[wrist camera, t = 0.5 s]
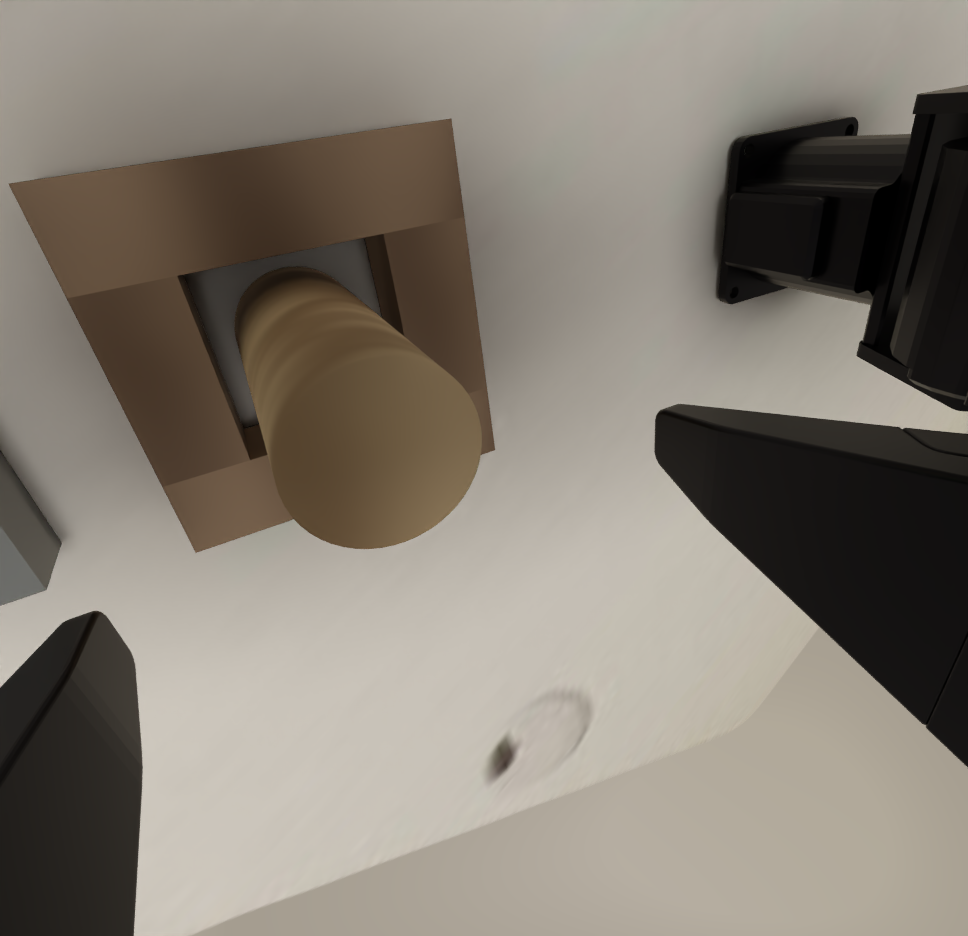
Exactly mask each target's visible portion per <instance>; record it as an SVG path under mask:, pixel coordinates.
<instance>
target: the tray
mask: <svg viewBox="0 0 968 936" xmlns="http://www.w3.org/2000/svg"><path fill="white" fill-rule="evenodd" d="M61 544H62V543H61V542H60V540H59V539H58V537H57V536H56V534H55V533H54V531H53V530H52V528H51V527H50V525H49V524H48V522H47V521H46V519H45V518H44V516H43V515H42V513H41V512H40V510H39V509H38V507H37V506H36V504H35V502H34V501H33V499H32V498H31V496H30V495H29V493H28V492H27V490H26V489H25V487H24V486H23V484H22V483H21V481H20V480H19V478H18V477H17V475H16V474H15V472H14V471H13V469H12V468H11V466H10V465H9V463H8V462H7V460H6V459H5V457H4V456H3V454H2V453H1V451H0V606H1V605H4V604H7V603H10V602H13V601H16V600H18V599H21V598H24V597H27V596H30V595H33V594H36V593H39V592H42V591H45V590H47V587H48V584H49V581H50V578H51V574H52V571H53V568H54V565H55V562H56V559H57V556H58V553H59V550H60V547H61Z"/></svg>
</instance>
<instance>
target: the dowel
mask: <svg viewBox="0 0 968 936" xmlns="http://www.w3.org/2000/svg"><path fill="white" fill-rule="evenodd" d="M235 336H236V340H237V344H238V348H239V351H240V355H241V359H242V362H243V366H244V370H245V373H246V377H247V381H248V384H249V388H250V392H251V396H252V399H253V403H254V407H255V410H256V414H257V418H258V421H259V425H260V429H261V432H262V436H263V440H264V443H265V447H266V451H267V454H268V458H269V462H270V465H271V469H272V473H273V476H274V480H275V484H276V487H277V490H278V494H279V496H280V498H281V500H282V502H283V504H284V506H285V508H286V509H287V511H288V512H289V514H290V515H291V516H292V517H293V518H294V520H295V521H296V522H297V523H298V524H299V525H300V526H301V527H303V528H304V529H305V530H307V531H308V532H309V533H311V534H312V535H314V536H316V537H318V538H319V539H321V540H324V541H326V542H329V543H331V544H335V545H338V546H342V547H348V548H355V549H373V548H383V547H387V546H392V545H396V544H399V543H402V542H405V541H408V540H410V539H413V538H415V537H417V536H419V535H421V534H423V533H424V532H426V531H428V530H429V529H431V528H432V527H434V526H435V525H437V524H438V523H439V522H440V521H442V520H443V519H444V518H445V517H446V516H447V515H448V514H449V513H450V512H451V511H452V510H453V509H454V508H455V507H456V506H457V505H458V503H459V502H460V501H461V499H462V498H463V497H464V495H465V494H466V492H467V490H468V489H469V487H470V485H471V483H472V481H473V479H474V476H475V474H476V471H477V468H478V465H479V461H480V455H481V448H482V433H481V425H480V420H479V416H478V413H477V410H476V408H475V405H474V403H473V401H472V400H471V398H470V396H469V394H468V393H467V392H466V390H465V389H464V388H463V386H462V385H461V384H460V383H459V382H458V381H457V380H456V379H455V378H454V377H453V376H451V375H450V374H449V373H448V372H447V371H445V370H444V369H443V368H442V367H440V366H439V365H438V364H437V363H436V362H434V361H433V360H432V359H431V358H430V357H428V356H427V355H426V354H425V353H424V352H422V351H421V350H420V349H419V348H417V347H416V346H415V345H414V344H413V343H411V342H410V341H409V340H408V339H407V338H405V337H404V336H403V335H402V334H401V333H399V332H398V331H397V330H396V329H394V328H393V327H392V326H391V325H390V324H388V323H387V322H386V321H385V320H384V319H382V318H381V317H380V316H379V315H378V314H376V313H375V312H374V311H373V310H371V309H370V308H369V307H368V306H367V305H365V304H364V303H363V302H362V301H361V300H359V299H358V298H357V297H356V296H355V295H353V294H352V293H351V292H350V291H348V290H347V289H346V288H345V287H344V286H342V285H341V284H340V283H339V282H337V281H336V280H335V279H333V278H332V277H330V276H329V275H327V274H325V273H323V272H320V271H318V270H315V269H311V268H307V267H284V268H280V269H276V270H273V271H271V272H268V273H266V274H264V275H263V276H261V277H260V278H258V279H257V280H256V281H254V282H253V283H252V284H251V285H250V286H249V287H248V289H247V290H246V291H245V293H244V294H243V296H242V297H241V299H240V302H239V304H238V307H237V310H236V314H235Z"/></svg>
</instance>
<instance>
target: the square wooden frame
mask: <svg viewBox="0 0 968 936" xmlns="http://www.w3.org/2000/svg"><path fill="white" fill-rule="evenodd" d="M9 186H10V188H11V190H12V192H13V194H14V196H15V198H16V200H17V201H18V203H19V205H20V207H21V209H22V211H23V213H24V215H25V217H26V219H27V221H28V223H29V225H30V227H31V229H32V231H33V233H34V235H35V237H36V239H37V241H38V243H39V245H40V247H41V249H42V251H43V253H44V255H45V257H46V259H47V261H48V263H49V265H50V266H51V268H52V270H53V272H54V274H55V276H56V278H57V280H58V282H59V284H60V286H61V288H62V290H63V292H64V294H65V296H66V298H67V300H68V302H69V304H70V306H71V308H72V310H73V312H74V314H75V316H76V318H77V320H78V322H79V324H80V326H81V328H82V329H83V331H84V333H85V335H86V337H87V339H88V341H89V343H90V345H91V347H92V349H93V351H94V353H95V355H96V357H97V359H98V361H99V363H100V365H101V367H102V369H103V371H104V373H105V375H106V377H107V379H108V381H109V383H110V385H111V387H112V389H113V391H114V392H115V394H116V396H117V398H118V400H119V402H120V404H121V406H122V408H123V410H124V412H125V414H126V416H127V418H128V420H129V422H130V424H131V426H132V428H133V430H134V432H135V434H136V436H137V438H138V440H139V442H140V444H141V446H142V448H143V450H144V452H145V454H146V455H147V457H148V459H149V461H150V463H151V465H152V467H153V469H154V471H155V473H156V475H157V477H158V479H159V481H160V483H161V485H162V487H163V489H164V491H165V493H166V495H167V497H168V499H169V501H170V503H171V505H172V507H173V509H174V511H175V513H176V515H177V517H178V518H179V520H180V522H181V524H182V526H183V528H184V530H185V532H186V534H187V536H188V538H189V540H190V542H191V544H192V546H193V548H194V550H195V552H199V551H202V550H205V549H208V548H211V547H214V546H217V545H220V544H223V543H226V542H228V541H231V540H234V539H237V538H240V537H243V536H246V535H249V534H252V533H255V532H258V531H261V530H263V529H266V528H269V527H272V526H275V525H278V524H281V523H284V522H287V521H290V520H293V519H294V518H293V517H292V516H291V515H290V514H289V512H288V511H287V509H286V508H285V506H284V504H283V502H282V500H281V498H280V496H279V494H278V490H277V487H276V484H275V480H274V476H273V473H272V469H271V465H270V462H269V458H268V454H267V451H266V447H265V443H264V440H263V436H262V432H261V429H260V425H256V426H252V427H249V428H245V429H244V428H243V426H242V423H241V421H240V418H239V416H238V413H237V410H236V408H235V405H234V403H233V400H232V398H231V395H230V393H229V390H228V388H227V385H226V382H225V380H224V377H223V375H222V372H221V370H220V367H219V365H218V362H217V359H216V357H215V354H214V352H213V349H212V347H211V344H210V342H209V339H208V336H207V334H206V331H205V329H204V326H203V324H202V321H201V319H200V316H199V314H198V311H197V308H196V306H195V303H194V301H193V298H192V296H191V293H190V291H189V288H188V285H187V283H186V280H185V278H184V274H189V273H194V272H199V271H204V270H208V269H213V268H218V267H223V266H228V265H233V264H238V263H243V262H248V261H252V260H257V259H262V258H267V257H272V256H277V255H282V254H287V253H292V252H297V251H301V250H306V249H311V248H316V247H321V246H326V245H331V244H336V243H341V242H345V241H350V240H355V239H360V238H365V242H366V246H367V251H368V255H369V260H370V264H371V269H372V273H373V278H374V282H375V287H376V291H377V296H378V300H379V305H380V309H381V314H382V319H384V320H385V321H386V322H387V323H388V324H390V325H391V326H392V327H393V328H394V329H396V330H397V331H398V332H399V333H401V334H402V335H403V336H404V337H405V338H407V339H408V340H409V341H410V342H411V343H413V344H414V345H415V346H416V347H417V348H419V349H420V350H421V351H422V352H424V353H425V354H426V355H427V356H428V357H430V358H431V359H432V360H433V361H434V362H436V363H437V364H438V365H439V366H440V367H442V368H443V369H444V370H445V371H447V372H448V373H449V374H450V375H451V376H453V377H454V378H455V379H456V380H457V381H458V382H459V383H460V384H461V385H462V386H463V388H464V389H465V390H466V392H467V393H468V394H469V396H470V398H471V400H472V401H473V403H474V405H475V408H476V410H477V413H478V416H479V420H480V425H481V433H482V448H481V455H482V454H485V453H488V452H490V451H493V450H495V446H494V439H493V431H492V423H491V416H490V408H489V401H488V393H487V386H486V378H485V370H484V363H483V355H482V348H481V340H480V333H479V325H478V317H477V310H476V302H475V295H474V287H473V280H472V272H471V265H470V257H469V249H468V242H467V234H466V227H465V219H464V212H463V204H462V196H461V189H460V181H459V174H458V166H457V159H456V151H455V143H454V136H453V128H452V121H451V119H446V120H439V121H432V122H425V123H418V124H411V125H405V126H398V127H391V128H384V129H377V130H371V131H364V132H357V133H350V134H343V135H337V136H330V137H323V138H316V139H309V140H303V141H296V142H289V143H282V144H275V145H268V146H262V147H255V148H248V149H241V150H234V151H228V152H221V153H214V154H207V155H200V156H194V157H187V158H180V159H173V160H166V161H160V162H153V163H146V164H139V165H132V166H126V167H119V168H112V169H105V170H98V171H92V172H85V173H78V174H71V175H64V176H58V177H51V178H44V179H37V180H30V181H24V182H17V183H10V184H9Z"/></svg>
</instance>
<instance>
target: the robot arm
mask: <svg viewBox="0 0 968 936" xmlns="http://www.w3.org/2000/svg"><path fill="white" fill-rule="evenodd" d="M913 114H916V115H915V119H914V124H913V128H912V132H911V134H898V135H867V136H857V132H858V121H857V119H856V118H855V117H845V118H839V119H833V120H828V121H823V122H817V123H812V124H807V125H801V126H796V127H791V128H785V129H780V130H775V131H769V132H764V133H759V134H754V135H748V136H743V137H741V138H739V139H738V140H737V141H736V142H735V144H734V146H733V149H732V153H731V164H730V175H729V186H728V197H727V208H726V219H725V229H724V240H723V251H722V262H721V273H720V284H719V299H720V301H722V302H724V303H728V304H735V303H738V302H741V301H744V300H748V299H751V298H754V297H758V296H761V295H764V294H768V293H771V292H774V291H778V290H781V289H784V288H788V287H790V288H794V289H799V290H804V291H808V292H813V293H817V294H822V295H827V296H831V297H836V298H841V299H845V300H850V301H854V302H859V303H864V304H868V305H871V307H870V312H869V316H868V320H867V324H866V329H865V333H864V337H863V340H862V341H860V343H859V347H858V351H857V356H858V357H859V358H861V359H863V360H865V361H867V362H868V363H870V364H872V365H874V366H876V367H877V368H879V369H881V370H882V371H884V372H886V373H888V374H890V375H892V376H893V377H895V378H897V379H899V380H901V381H903V382H904V383H906V384H908V385H910V386H912V387H914V388H915V389H917V390H919V391H921V392H923V393H924V394H926V395H928V396H930V397H932V398H933V399H936V400H938V401H939V402H941V403H943V404H945V405H947V406H949V407H950V408H952V409H955V410H958V411H968V85H966V86H960V87H955V88H949V89H944V90H938V91H933V92H927V93H921V94H917V97H916V101H915V105H914V110H913ZM745 148H746V153H745V155H744V151H745ZM731 290H732V291H731ZM730 291H731V293H730ZM655 456H656V459H657V461H658V463H659V464H660V466H661V467H662V468H663V469H664V470H665V472H666V473H667V474H668V475H669V476H670V477H671V479H672V480H673V481H674V482H675V483H676V484H677V486H678V487H679V488H680V489H681V490H682V491H683V493H684V494H685V495H686V496H687V497H688V498H689V499H690V501H691V502H692V503H693V504H694V505H695V506H696V508H697V509H698V510H699V511H700V512H701V513H702V515H703V516H704V517H705V518H706V519H707V520H708V521H709V522H710V523H711V524H712V525H713V526H714V527H715V528H716V529H717V530H718V531H719V532H720V533H721V534H722V535H723V536H724V537H725V538H726V539H727V540H728V541H729V542H730V543H732V544H733V545H734V546H735V547H736V548H737V549H738V550H739V551H740V552H741V553H742V554H743V555H744V556H745V557H746V558H747V559H748V560H750V561H751V562H752V563H753V564H754V565H755V566H756V567H757V568H758V569H759V570H760V571H761V572H762V573H763V574H764V575H765V576H766V577H767V578H769V579H770V580H771V581H772V582H773V583H774V584H775V585H776V586H777V587H778V588H779V589H780V590H781V591H782V592H783V593H784V594H785V595H787V596H788V597H789V598H790V599H791V600H792V601H793V602H794V603H795V604H796V605H797V606H798V607H799V608H800V609H801V610H802V611H803V612H805V613H806V614H807V615H808V616H809V617H810V618H811V619H812V620H813V621H814V622H815V623H816V624H817V625H818V626H819V627H820V628H822V629H823V630H824V631H825V632H826V633H827V634H828V635H829V636H830V637H831V638H832V639H833V640H834V641H835V642H836V643H837V644H838V645H839V646H841V647H842V648H843V649H844V650H845V651H846V652H847V653H848V654H849V655H850V656H851V657H852V658H853V659H855V661H856V662H857V663H858V664H860V665H861V666H862V667H863V668H864V669H865V670H866V671H867V672H868V673H869V674H870V675H871V676H872V677H873V678H874V679H875V680H876V681H878V682H879V683H880V684H881V685H882V686H883V687H884V688H885V689H886V690H887V691H888V692H889V693H890V694H891V695H892V696H893V697H894V698H896V699H897V700H898V701H899V702H900V703H901V704H902V705H903V706H904V707H905V708H906V709H907V710H908V711H909V712H910V713H911V714H912V715H913V716H915V717H916V718H917V719H918V720H919V721H920V722H921V723H922V724H924V725H926V728H927V729H928V730H929V731H930V732H931V733H932V734H933V735H934V736H935V737H936V738H937V739H938V740H940V742H941V743H943V744H944V745H945V746H946V747H947V748H948V749H949V750H950V751H951V752H952V753H953V754H954V755H955V756H956V757H957V758H958V759H960V760H961V761H962V762H963V763H964V764H965V765H966V766H967V767H968V434H962V433H952V432H941V431H931V430H921V429H912V428H904V429H901V428H899V427H892V426H883V425H874V424H864V423H855V422H845V421H836V420H827V419H817V418H808V417H799V416H789V415H780V414H770V413H761V412H752V411H742V410H733V409H724V408H714V407H705V406H695V405H686V404H677V405H673V406H671V407H668V408H665V409H662V410H660V411H659V412H658V413H657V416H656V419H655ZM142 769H143V766H142V747H141V734H140V721H139V708H138V695H137V682H136V669H135V663H134V659H133V656H132V654H131V651H130V650H129V648H128V647H127V645H126V644H125V642H124V641H123V639H122V638H121V636H120V635H119V634H118V632H117V631H116V629H115V628H114V626H113V625H112V623H111V622H110V621H109V619H108V618H107V616H106V615H104V614H103V613H102V612H99V611H92V612H89V613H86V614H83V615H81V616H78V617H75V618H72V619H69V620H67V621H65V622H63V623H62V624H61V625H60V626H59V627H58V628H57V629H56V630H55V631H54V632H53V633H52V634H51V635H50V636H49V637H48V639H47V640H46V641H45V642H44V643H43V644H42V645H41V646H40V647H39V648H38V649H37V650H36V651H35V652H34V653H33V654H32V655H31V656H30V657H29V658H28V659H27V660H26V661H25V663H24V664H23V665H22V666H21V667H20V668H19V669H18V670H17V671H16V672H15V673H14V674H13V675H12V676H11V677H10V678H9V679H8V680H7V681H6V682H5V683H4V684H3V685H2V686H1V688H0V936H134V921H135V903H136V885H137V867H138V849H139V832H140V814H141V796H142Z"/></svg>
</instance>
